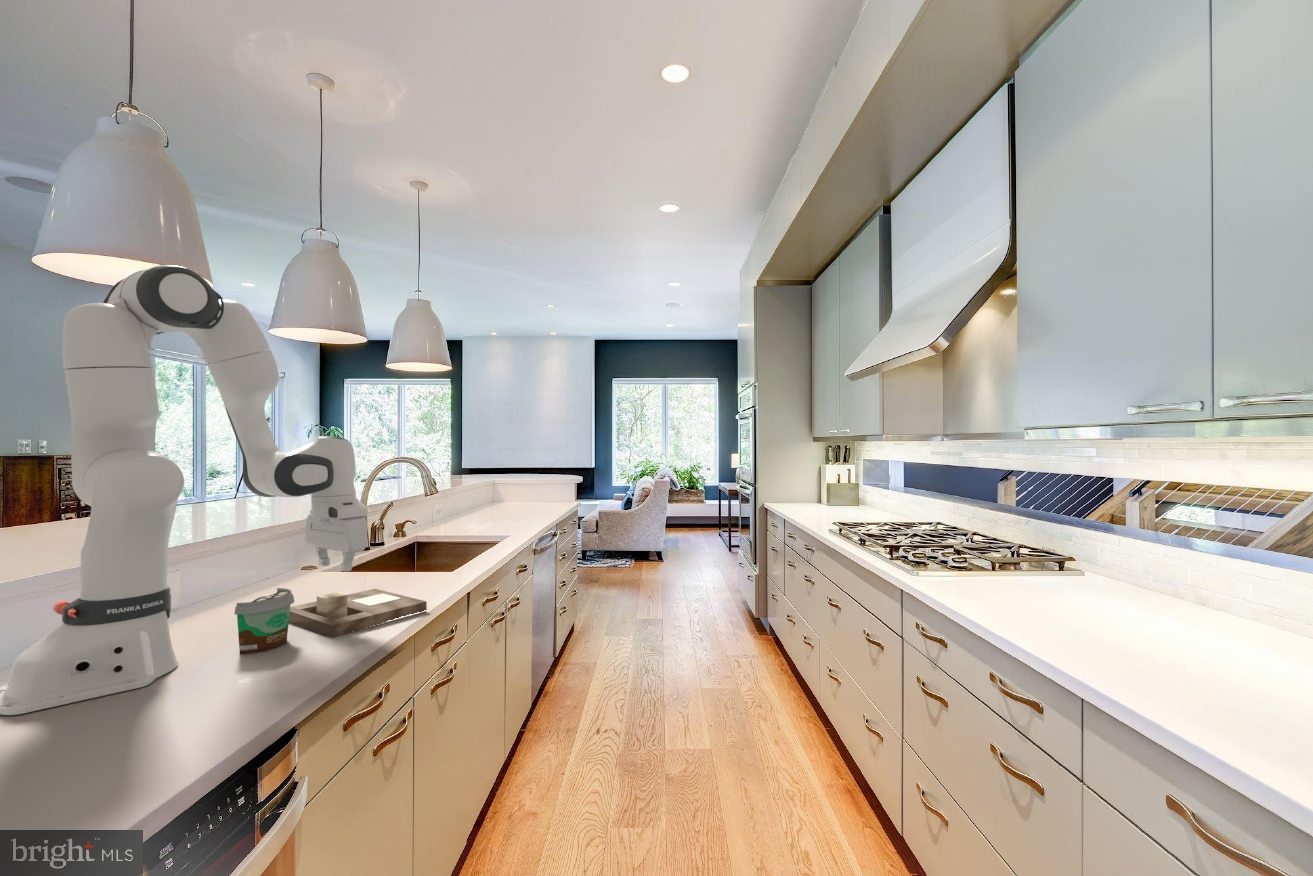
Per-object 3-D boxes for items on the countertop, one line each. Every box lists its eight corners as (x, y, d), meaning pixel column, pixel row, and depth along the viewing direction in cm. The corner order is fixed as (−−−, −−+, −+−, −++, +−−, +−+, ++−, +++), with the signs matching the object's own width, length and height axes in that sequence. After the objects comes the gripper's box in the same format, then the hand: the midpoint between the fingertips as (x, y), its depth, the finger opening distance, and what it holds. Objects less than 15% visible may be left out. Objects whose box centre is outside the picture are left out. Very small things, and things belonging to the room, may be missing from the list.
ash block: (326, 626, 125) (327, 599, 125) (316, 622, 128) (316, 596, 128) (347, 621, 129) (347, 594, 129) (336, 617, 131) (337, 591, 131)
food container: (265, 657, 107) (266, 603, 107) (233, 657, 107) (234, 603, 107) (307, 635, 119) (308, 587, 119) (278, 635, 119) (279, 587, 119)
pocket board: (332, 637, 118) (332, 624, 118) (282, 619, 130) (282, 607, 130) (426, 611, 136) (426, 600, 136) (375, 598, 148) (375, 588, 148)
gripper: (297, 506, 132) (298, 565, 132) (343, 511, 121) (344, 576, 121) (325, 503, 137) (326, 560, 137) (372, 508, 126) (373, 570, 126)
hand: (335, 568), depth 129 cm, fingers open, 8 cm apart
